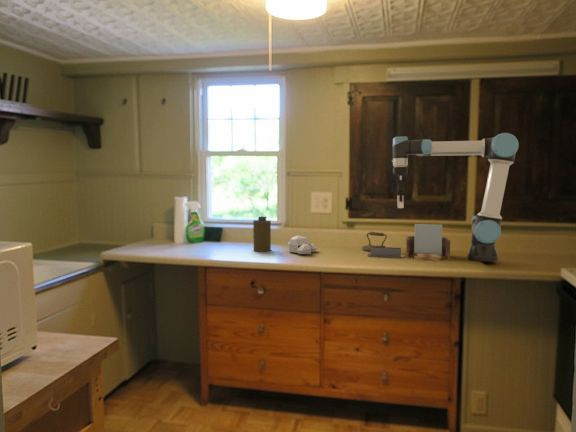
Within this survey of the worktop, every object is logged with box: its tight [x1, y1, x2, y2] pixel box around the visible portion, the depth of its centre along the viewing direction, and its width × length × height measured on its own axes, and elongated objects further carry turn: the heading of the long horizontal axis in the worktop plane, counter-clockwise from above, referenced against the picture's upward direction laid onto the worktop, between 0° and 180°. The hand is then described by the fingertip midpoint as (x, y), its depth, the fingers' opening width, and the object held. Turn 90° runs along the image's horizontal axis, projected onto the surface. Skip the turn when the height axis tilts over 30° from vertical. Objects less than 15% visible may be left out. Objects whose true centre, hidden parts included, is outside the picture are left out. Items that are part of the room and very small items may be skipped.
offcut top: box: [417, 253, 442, 258], centre depth 244 cm, size 12×4×1 cm, turn 78°
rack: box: [405, 235, 451, 261], centre depth 253 cm, size 22×15×10 cm
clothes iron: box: [361, 231, 388, 252], centre depth 268 cm, size 14×10×12 cm
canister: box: [252, 216, 272, 253], centre depth 274 cm, size 11×10×20 cm
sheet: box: [414, 223, 443, 254], centre depth 249 cm, size 14×2×18 cm, turn 77°
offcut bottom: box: [413, 258, 443, 262], centre depth 244 cm, size 14×5×1 cm, turn 77°
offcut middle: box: [413, 256, 441, 261], centre depth 244 cm, size 13×5×1 cm, turn 78°
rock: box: [286, 235, 318, 255], centre depth 268 cm, size 18×20×10 cm
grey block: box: [367, 246, 405, 259], centre depth 254 cm, size 19×8×5 cm, turn 77°
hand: (400, 207), depth 242 cm, fingers open, 13 cm apart
